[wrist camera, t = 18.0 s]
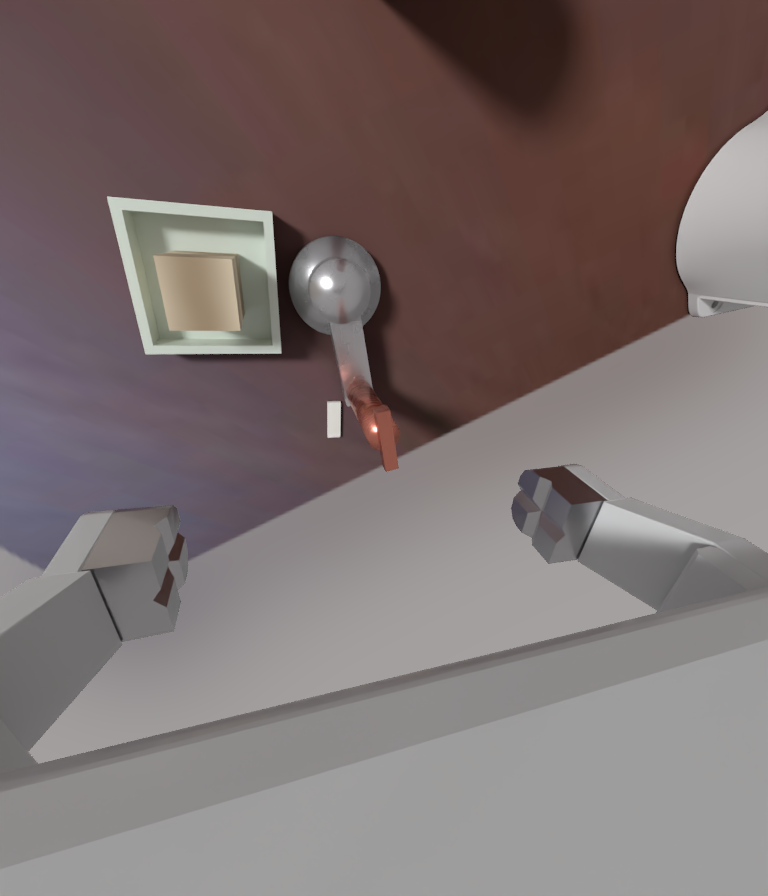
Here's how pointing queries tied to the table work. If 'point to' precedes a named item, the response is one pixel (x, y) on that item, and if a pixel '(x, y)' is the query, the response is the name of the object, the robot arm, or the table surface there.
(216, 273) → the block
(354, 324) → the crank
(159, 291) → the tray
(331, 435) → the strip
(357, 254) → the crank plinth
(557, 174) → the table surface
